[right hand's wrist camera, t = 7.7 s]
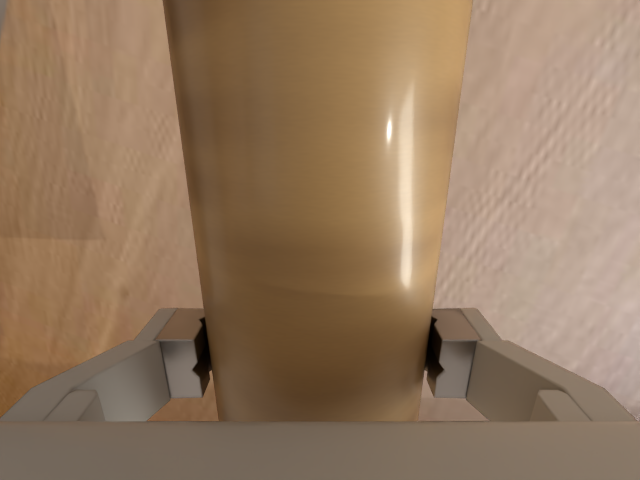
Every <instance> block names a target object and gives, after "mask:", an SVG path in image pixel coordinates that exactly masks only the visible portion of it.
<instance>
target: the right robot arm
mask: <svg viewBox="0 0 640 480" xmlns="http://www.w3.org/2000/svg"><path fill="white" fill-rule="evenodd" d="M211 370H212V366H211V359H210V351H209V344H208V336H207V329H206V321H205V314H204V309H199V308H162V309H159V310H158V311H157V312H156V314H155V315H154V316H153V317H152V318H151V320H150V321H149V322H148V323H147V325H146V326H145V327H144V328H143V329H142V331H141V332H140V333H139V334H138V336H137V337H136V338H135V339H134V341H126V342H124V343H122V344H120V345H118V346H116V347H114V348H112V349H110V350H108V351H106V352H104V353H102V354H100V355H98V356H96V357H94V358H92V359H90V360H88V361H86V362H83V363H81V364H79V365H77V366H75V367H73V368H71V369H69V370H67V371H65V372H63V373H61V374H59V375H57V376H55V377H53V378H51V379H49V380H47V381H45V382H43V383H41V384H39V385H37V386H35V387H33V388H31V389H30V390H29V391H28V392H27V393H26V394H25V395H24V396H23V397H22V398H21V399H20V400H18V401H17V402H16V403H15V404H14V405H13V406H12V407H11V408H10V409H9V410H8V411H7V412H6V413H5V414H4V415H3V416H2V417H1V418H0V480H640V421H637V420H636V419H635V418H634V417H633V416H632V415H631V414H630V413H629V412H628V411H627V410H626V409H625V408H624V407H623V406H622V405H621V404H620V403H619V402H618V401H617V400H616V399H615V398H614V397H613V396H612V395H611V394H610V393H609V392H608V391H607V390H606V389H604V388H602V387H600V386H598V385H596V384H594V383H592V382H590V381H588V380H586V379H584V378H582V377H580V376H578V375H576V374H574V373H572V372H570V371H568V370H566V369H564V368H562V367H560V366H558V365H556V364H554V363H552V362H550V361H548V360H546V359H544V358H542V357H540V356H538V355H536V354H534V353H532V352H530V351H528V350H526V349H524V348H522V347H520V346H518V345H516V344H514V343H512V342H510V341H503V340H502V339H501V338H500V337H499V335H498V334H497V333H496V332H495V330H494V329H493V328H492V327H491V325H490V324H489V323H488V322H487V320H486V319H485V318H484V317H483V315H482V314H481V313H480V312H479V310H478V309H476V308H453V309H432V316H431V324H430V331H429V339H428V347H427V354H426V362H425V370H426V371H427V381H428V384H429V386H430V389H431V391H432V394H433V396H434V397H437V398H466V400H467V401H468V402H469V403H470V404H471V405H473V406H474V407H475V408H476V409H477V410H478V411H479V412H480V413H482V414H483V415H484V416H485V417H486V418H487V419H488V420H490V421H147V420H148V419H149V418H150V417H151V416H152V415H154V414H155V413H156V412H157V411H158V410H159V409H161V408H162V407H163V406H164V405H165V404H166V403H167V402H169V401H170V398H198V397H203V395H204V392H205V390H206V388H207V385H208V383H209V380H210V375H209V371H211Z"/></svg>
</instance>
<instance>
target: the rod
mask: <svg viewBox="0 0 640 480" xmlns="http://www.w3.org/2000/svg"><path fill="white" fill-rule="evenodd" d="M472 4H473V0H163V6H164V14H165V21H166V29H167V36H168V44H169V51H170V59H171V66H172V74H173V81H174V89H175V96H176V104H177V111H178V119H179V126H180V134H181V141H182V149H183V156H184V164H185V171H186V179H187V186H188V194H189V201H190V209H191V216H192V224H193V231H194V239H195V246H196V254H197V261H198V269H199V276H200V284H201V291H202V299H203V306H204V314H205V321H206V329H207V336H208V344H209V351H210V359H211V366H212V374H213V381H214V389H215V396H216V404H217V411H218V419H219V421H418V415H419V408H420V400H421V392H422V385H423V377H424V369H425V362H426V354H427V347H428V339H429V331H430V324H431V316H432V309H433V301H434V293H435V286H436V278H437V270H438V263H439V255H440V248H441V240H442V232H443V225H444V217H445V209H446V202H447V194H448V187H449V179H450V171H451V164H452V156H453V149H454V141H455V133H456V126H457V118H458V110H459V103H460V95H461V88H462V80H463V72H464V65H465V57H466V50H467V42H468V34H469V27H470V19H471V11H472Z"/></svg>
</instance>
